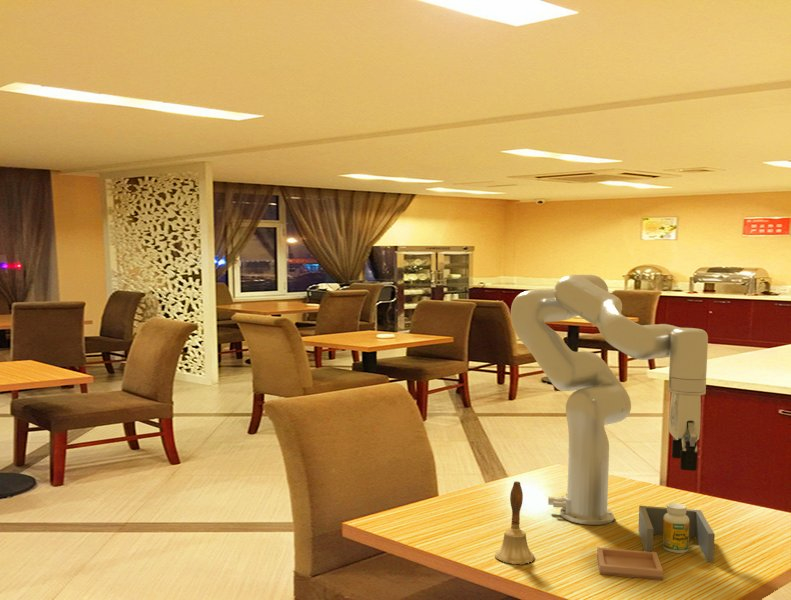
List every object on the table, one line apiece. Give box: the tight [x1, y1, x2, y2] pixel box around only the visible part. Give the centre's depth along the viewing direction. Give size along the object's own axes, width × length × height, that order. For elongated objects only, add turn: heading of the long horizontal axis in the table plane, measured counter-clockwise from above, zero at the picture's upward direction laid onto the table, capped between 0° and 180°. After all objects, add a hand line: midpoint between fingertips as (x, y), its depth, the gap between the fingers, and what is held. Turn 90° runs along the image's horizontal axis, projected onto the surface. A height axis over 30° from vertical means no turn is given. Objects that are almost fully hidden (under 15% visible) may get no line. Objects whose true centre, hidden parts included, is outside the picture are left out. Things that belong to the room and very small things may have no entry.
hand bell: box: [494, 481, 536, 565], centre depth 164 cm, size 8×8×16 cm
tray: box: [596, 546, 664, 581], centre depth 160 cm, size 12×10×2 cm
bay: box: [637, 505, 716, 563], centre depth 173 cm, size 13×16×6 cm
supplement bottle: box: [662, 502, 690, 554], centre depth 171 cm, size 5×5×10 cm
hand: (683, 463), depth 170 cm, fingers open, 9 cm apart
